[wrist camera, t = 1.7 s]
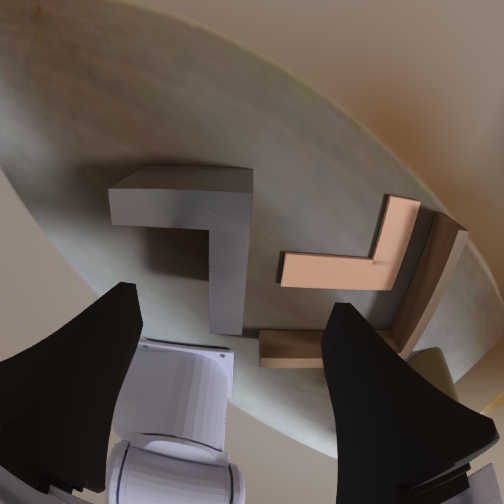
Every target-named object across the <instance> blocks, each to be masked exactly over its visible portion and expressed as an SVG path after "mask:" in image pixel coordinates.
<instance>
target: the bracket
mask: <svg viewBox="0 0 504 504" xmlns="http://www.w3.org/2000/svg"><path fill="white" fill-rule="evenodd" d="M108 193H109V203H110V212H111V220H112V225H126V226H146V227H165V228H183V229H199V230H209V309H210V333H217V334H230V335H242V324H243V311H244V299H245V287H246V275H247V263H248V251H249V239H250V227H251V215H252V203H253V169H244V168H228V167H207V166H144V167H142V168H141V169H139V170H137V171H136V172H134V173H132V174H131V175H129V176H127V177H126V178H124V179H123V180H121V181H119V182H118V183H116V184H115V185H113V186H112V187H110V188H109V189H108Z"/></svg>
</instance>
